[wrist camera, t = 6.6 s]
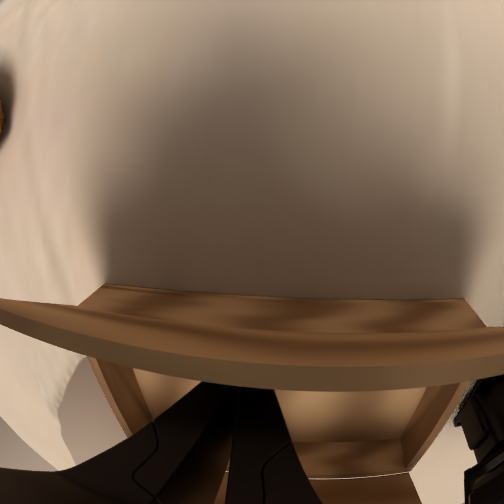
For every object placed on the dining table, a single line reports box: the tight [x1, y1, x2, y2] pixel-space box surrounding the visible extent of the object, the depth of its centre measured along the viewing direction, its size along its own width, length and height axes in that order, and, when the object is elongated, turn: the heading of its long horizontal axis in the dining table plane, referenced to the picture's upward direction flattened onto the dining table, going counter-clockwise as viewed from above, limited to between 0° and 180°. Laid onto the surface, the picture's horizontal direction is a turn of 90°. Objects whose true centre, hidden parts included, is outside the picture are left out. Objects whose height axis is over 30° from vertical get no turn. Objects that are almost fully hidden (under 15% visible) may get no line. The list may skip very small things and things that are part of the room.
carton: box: [78, 284, 486, 478], centre depth 18 cm, size 24×15×4 cm, turn 92°
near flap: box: [0, 298, 504, 392], centre depth 9 cm, size 8×24×1 cm
